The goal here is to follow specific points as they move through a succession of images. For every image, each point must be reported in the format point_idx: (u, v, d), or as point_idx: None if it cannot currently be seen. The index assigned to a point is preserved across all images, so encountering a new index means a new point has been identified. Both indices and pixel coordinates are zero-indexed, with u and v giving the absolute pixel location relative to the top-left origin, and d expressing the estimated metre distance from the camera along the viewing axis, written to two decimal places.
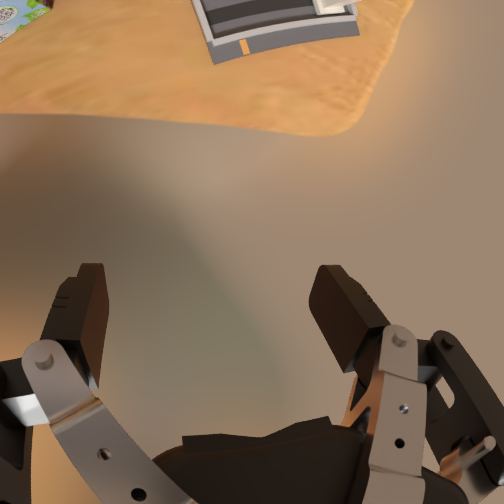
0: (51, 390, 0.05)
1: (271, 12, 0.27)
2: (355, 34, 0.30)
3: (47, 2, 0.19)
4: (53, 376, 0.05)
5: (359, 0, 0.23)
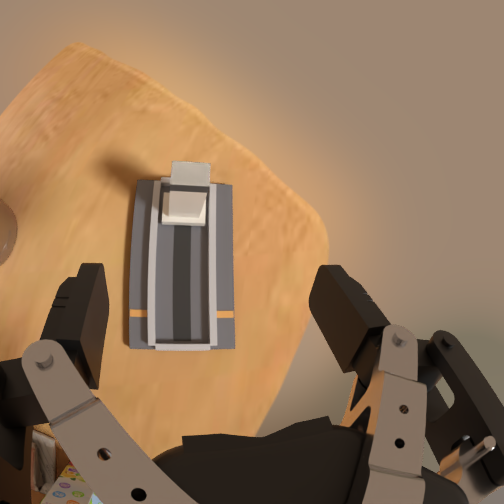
0: (51, 390, 0.05)
1: (191, 274, 0.34)
2: (230, 189, 0.38)
3: None
4: (53, 376, 0.05)
5: None
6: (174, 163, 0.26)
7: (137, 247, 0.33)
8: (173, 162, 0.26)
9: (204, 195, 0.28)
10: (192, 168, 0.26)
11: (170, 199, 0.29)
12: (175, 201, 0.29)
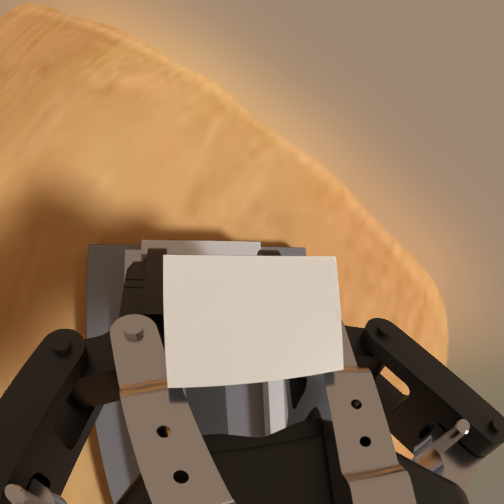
0: (150, 359, 0.06)
1: None
2: None
3: None
4: (138, 349, 0.06)
5: None
6: (176, 268, 0.05)
7: (106, 409, 0.12)
8: (169, 264, 0.05)
9: None
10: (265, 291, 0.06)
11: None
12: None
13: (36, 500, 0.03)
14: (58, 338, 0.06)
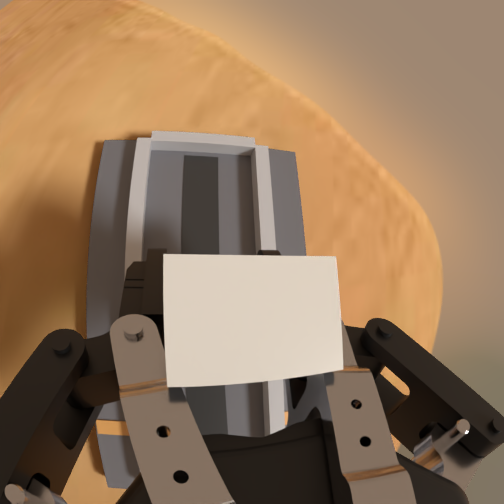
0: (150, 359, 0.06)
1: None
2: (293, 160, 0.19)
3: None
4: (139, 349, 0.06)
5: None
6: (176, 267, 0.05)
7: (100, 285, 0.14)
8: (169, 263, 0.05)
9: None
10: (265, 290, 0.06)
11: None
12: None
13: (36, 500, 0.03)
14: (57, 337, 0.06)
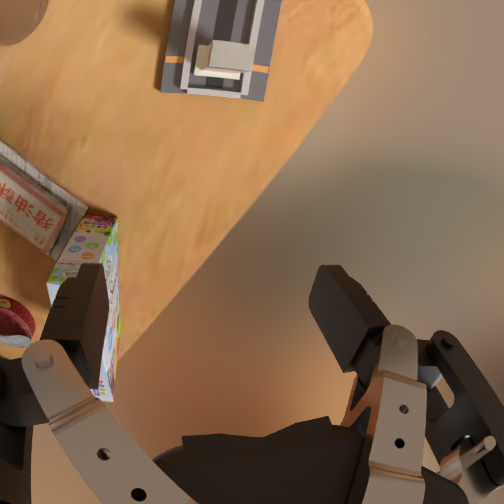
0: (51, 390, 0.05)
1: (233, 28, 0.27)
2: None
3: (109, 220, 0.35)
4: (53, 376, 0.05)
5: None
6: (215, 42, 0.20)
7: (181, 1, 0.24)
8: (214, 41, 0.20)
9: (243, 71, 0.23)
10: (235, 50, 0.20)
11: (206, 68, 0.24)
12: (212, 69, 0.24)
13: None
14: None
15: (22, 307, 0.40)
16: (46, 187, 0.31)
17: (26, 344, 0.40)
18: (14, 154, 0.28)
